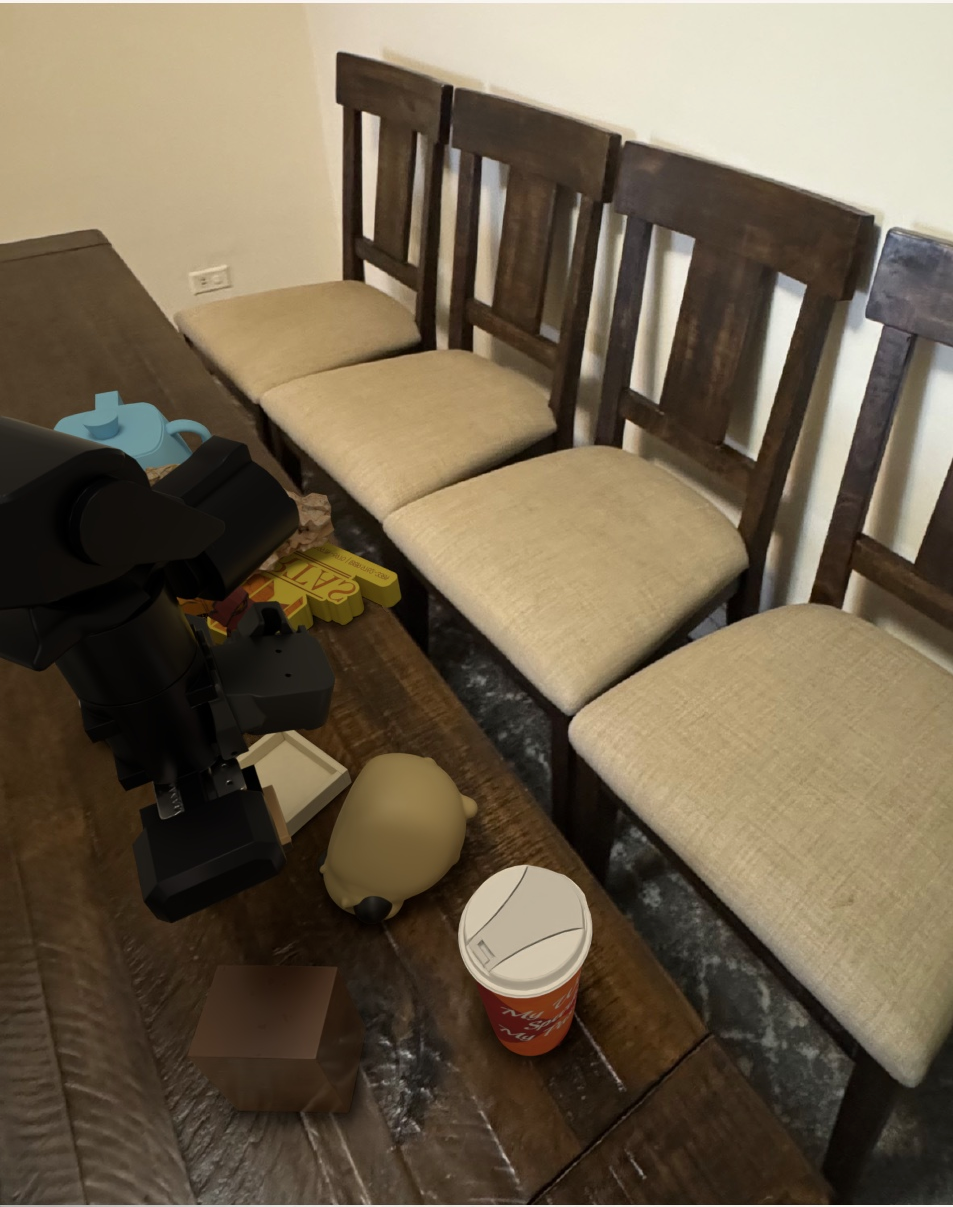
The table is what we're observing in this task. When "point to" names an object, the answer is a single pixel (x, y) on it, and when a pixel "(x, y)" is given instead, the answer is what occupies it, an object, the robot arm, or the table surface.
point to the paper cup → (527, 954)
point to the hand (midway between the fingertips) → (228, 828)
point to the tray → (296, 775)
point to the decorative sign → (319, 587)
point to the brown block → (280, 1038)
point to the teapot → (134, 430)
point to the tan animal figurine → (394, 835)
